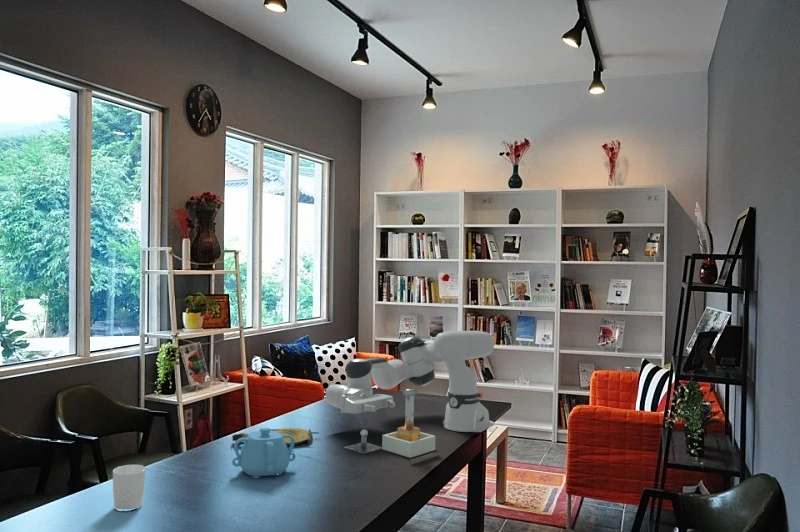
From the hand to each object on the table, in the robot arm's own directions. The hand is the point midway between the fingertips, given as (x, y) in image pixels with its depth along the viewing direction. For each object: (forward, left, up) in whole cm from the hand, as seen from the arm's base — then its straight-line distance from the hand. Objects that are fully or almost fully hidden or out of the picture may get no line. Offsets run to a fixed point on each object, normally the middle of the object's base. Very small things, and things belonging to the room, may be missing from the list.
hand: (384, 407), depth 229 cm
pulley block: (+28, -27, -14) cm, 41 cm away
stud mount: (+10, 0, -14) cm, 17 cm away
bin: (0, +12, -14) cm, 18 cm away
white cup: (+90, -6, -14) cm, 91 cm away
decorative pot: (+48, -5, -14) cm, 50 cm away
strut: (0, +12, -13) cm, 17 cm away
